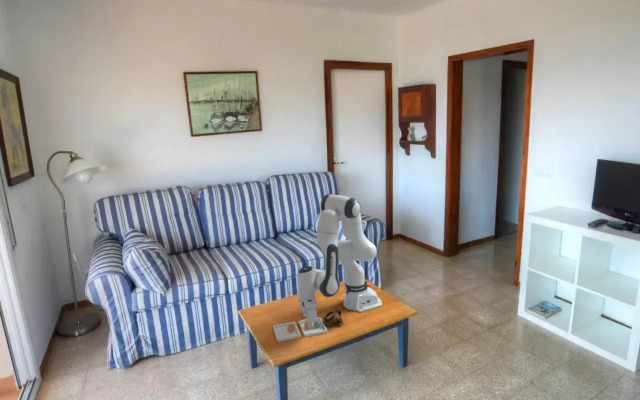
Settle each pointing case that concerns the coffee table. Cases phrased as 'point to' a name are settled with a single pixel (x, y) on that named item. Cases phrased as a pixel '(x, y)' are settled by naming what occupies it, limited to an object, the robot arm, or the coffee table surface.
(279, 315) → the coffee table surface
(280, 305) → the coffee table surface
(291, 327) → the terracotta ball
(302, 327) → the dish
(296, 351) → the coffee table surface
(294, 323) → the dish
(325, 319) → the pottery mug
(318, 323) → the ball grey
